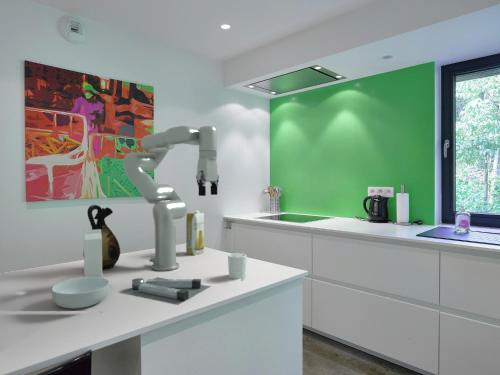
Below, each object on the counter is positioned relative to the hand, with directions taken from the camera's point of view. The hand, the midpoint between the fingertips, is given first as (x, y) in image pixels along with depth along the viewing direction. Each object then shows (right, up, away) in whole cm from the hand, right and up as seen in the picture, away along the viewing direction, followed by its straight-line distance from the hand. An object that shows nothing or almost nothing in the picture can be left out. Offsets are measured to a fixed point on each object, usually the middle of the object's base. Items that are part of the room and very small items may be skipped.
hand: (208, 195), depth 140 cm
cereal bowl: (-38, -36, -33) cm, 62 cm away
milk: (-43, -35, -14) cm, 57 cm away
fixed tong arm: (-13, -34, -27) cm, 45 cm away
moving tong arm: (-13, -34, -19) cm, 41 cm away
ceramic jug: (-50, -35, +8) cm, 62 cm away
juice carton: (-13, -34, +41) cm, 55 cm away
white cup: (+13, -35, -3) cm, 38 cm away
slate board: (-13, -35, -20) cm, 43 cm away
